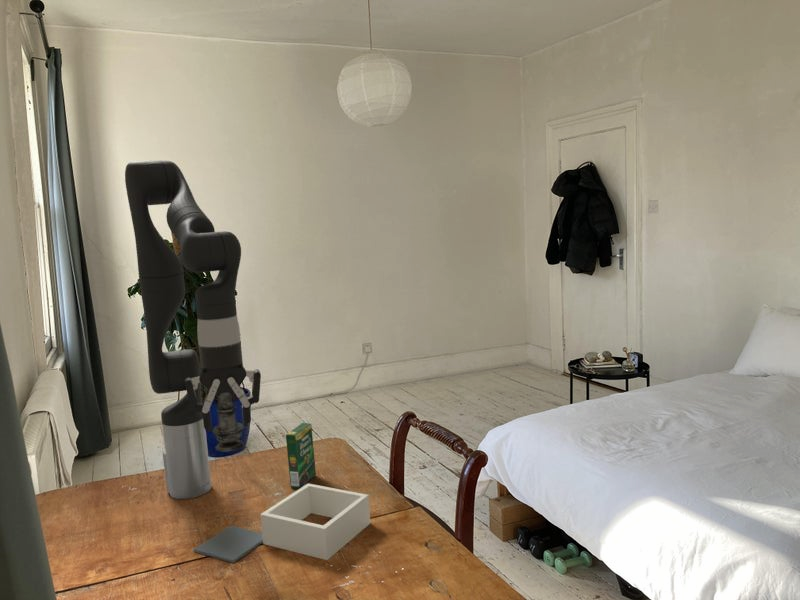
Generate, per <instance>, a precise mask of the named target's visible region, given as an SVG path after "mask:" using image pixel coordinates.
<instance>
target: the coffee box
mask: <svg viewBox="0 0 800 600" xmlns="http://www.w3.org/2000/svg"><path fill="white" fill-rule="evenodd" d="M285 441H286V451H287V462H288V472H289V473H288V474H289V484H290V488H291V489H292V488H294V489H300V488H302V487H303V486H305V485H306V484H308V483H309V481H310V480H312V479H314V477H316V475H317V471H316V461H315V460H316V458H315V450H314V449H315V448H314V439H313V429H312V423H307V422H302V423H300V424H299V425H298V426H296V427H295V428H294V429H292V430H290V431H289V432H287V433H286V434H285Z"/></svg>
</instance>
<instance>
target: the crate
mask: <svg viewBox="0 0 800 600" xmlns="http://www.w3.org/2000/svg"><path fill="white" fill-rule="evenodd" d="M369 497H370V495H369V494H366V493H360V492H355V491H351V490H350V491H349V490H345V489H340V488H333V487H329V486H323V485H318V484H313V483H306V484H305V485H304V486H302V487H301V488H298V489H297V490H295V491H293V492H292V493H291V494H289V495H287V497H285V498H284V499H282V500H281V501H279V502H277V503H275V504H274V505H273V506H271V507H269V508H268V509H267V510H265V511H263V512H261V513H260V526H261V533H262V537H263V542H262V544H263V545H267V546H271V547H274V548H277V549H282V550H285V551H289V552H294V553H296V554H297V553H298V554H302V555H306V556H309V557H313V558H317V559H321V560H324V561H328V560H329V559H331V558H332V557H333V556H334V555H335V554H336V553H337V552H339V551H340V550H341V549H342V548H343V547H344V546H346V545H347V544H348V543H350V541H352V540H353V539H354V538H356V536H358V534H359V533H361V532H362V531H363V530H365V528H366V527H368V526H369V525H371V512H370V499H369ZM311 514H313V515H318V516H323V517H326V518H331V519H330V520H328V521H327V522H326V523H325V524H323V525H322V524H319V523H314V522H309V521H306V520H304V519H305V518H307V517H308V516H310V515H311Z"/></svg>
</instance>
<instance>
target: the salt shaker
mask: <svg viewBox="0 0 800 600" xmlns="http://www.w3.org/2000/svg"><path fill="white" fill-rule="evenodd" d="M216 398H217V399H216V400H217V401H216V402H217V408H216V412H217V414H218V415H217V416H218V424H217V425H216V426H214V427H213V428H212V432H211V433H213V435H214V438H215V439H216V441H218V443H217V444H216V445H215V447H214V449H215V451H219V452H232V451H236V450H239V449H241V448H243V447H244V446H245V443H244V442H243V441H242V440H240V438H241V437H242V435H243V432H244V431H243V430H244V428H245V427H244V425H243V423H241V422H238V421H237V418H236V411H235V410H237V406H236V405H235V404H234V394H230V393H229V392H228V393H227V392H226V393H221V394H220V396H216Z"/></svg>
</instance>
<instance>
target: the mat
mask: <svg viewBox="0 0 800 600" xmlns="http://www.w3.org/2000/svg"><path fill="white" fill-rule="evenodd" d="M261 544H263V537H262V532H259V531H255V530H250V529H246V528H243V527H239V526H234V525H230V526H228V527H227V528H225V529H224V530H222V531H220V532H219V533H217V534H216V535H214V536H213V537H211V538H209V539H207V540H206V541H205V542H203V543H201V544H200V545H199V546H196V547H195V548H194V549H193V552H194V553H197V554H200V555H205V556H208V557H211V558H215V559H218V560H223V561H225V562H229V563H233V564H234V563H236V562H237V561H238V560H240V559H241V558H243V557H245V555H247V554H248V553H250V552H251V551H252V550H254V549H256V548H257V547H258V546H259V545H261Z"/></svg>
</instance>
